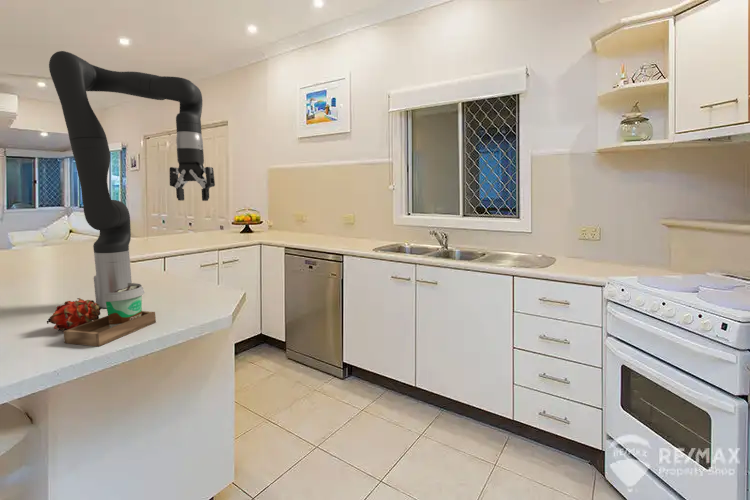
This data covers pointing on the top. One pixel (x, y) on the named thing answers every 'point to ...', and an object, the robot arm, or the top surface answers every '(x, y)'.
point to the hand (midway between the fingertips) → (193, 200)
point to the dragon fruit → (74, 314)
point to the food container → (124, 304)
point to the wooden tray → (106, 330)
